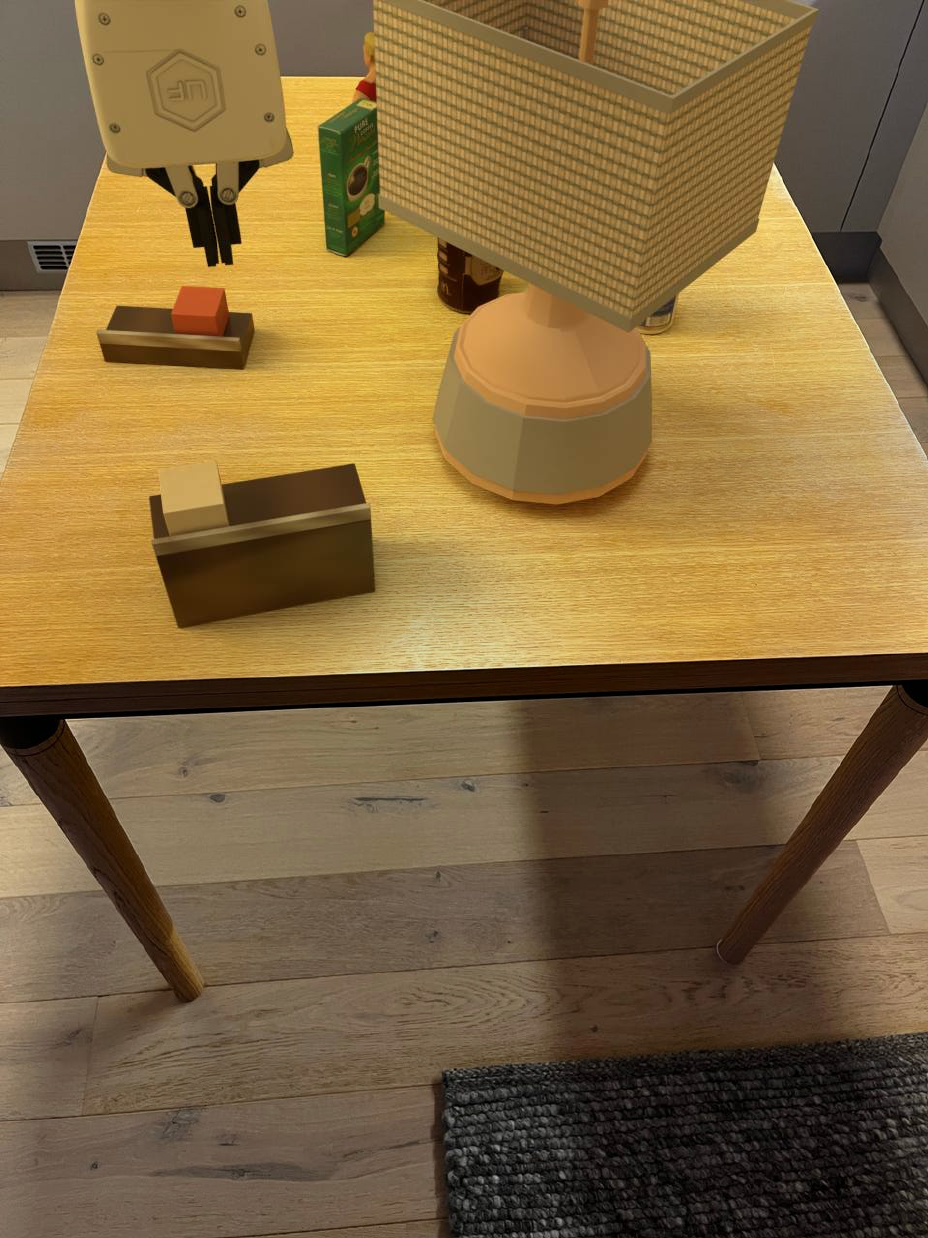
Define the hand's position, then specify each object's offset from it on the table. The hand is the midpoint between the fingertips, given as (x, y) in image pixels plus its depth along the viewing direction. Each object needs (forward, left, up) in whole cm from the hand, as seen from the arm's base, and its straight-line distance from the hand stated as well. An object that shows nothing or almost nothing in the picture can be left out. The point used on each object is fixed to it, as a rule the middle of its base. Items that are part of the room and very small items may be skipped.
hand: (219, 253), depth 64 cm
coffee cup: (+35, +5, -24) cm, 43 cm away
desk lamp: (+21, -13, -24) cm, 34 cm away
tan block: (-8, -3, -16) cm, 18 cm away
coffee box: (+36, +21, -24) cm, 48 cm away
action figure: (+48, +28, -24) cm, 60 cm away
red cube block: (+12, +19, -22) cm, 31 cm away
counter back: (+11, +22, -24) cm, 34 cm away
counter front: (-5, -5, -24) cm, 25 cm away
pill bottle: (+43, -11, -24) cm, 50 cm away
